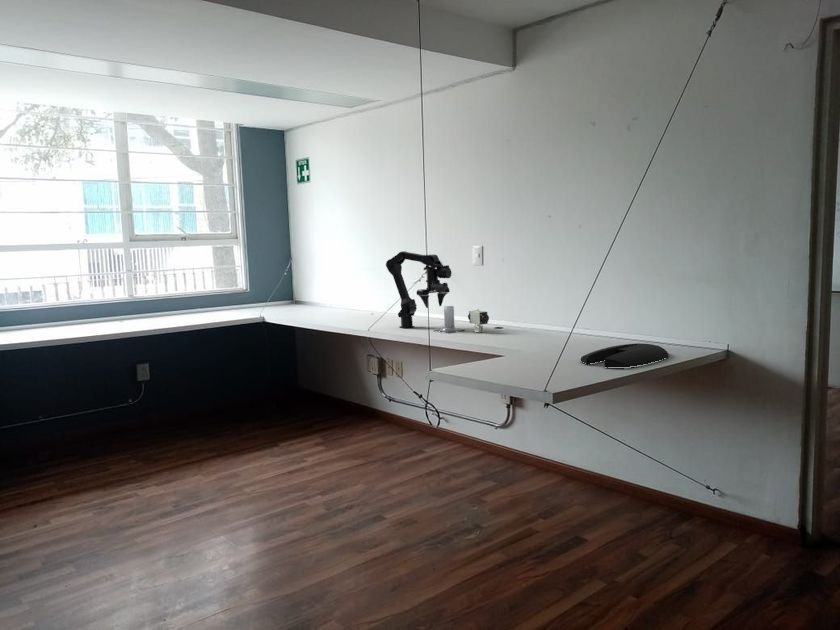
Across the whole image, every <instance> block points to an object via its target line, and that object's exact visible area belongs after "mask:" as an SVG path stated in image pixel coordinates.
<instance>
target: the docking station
mask: <svg viewBox="0 0 840 630" xmlns="http://www.w3.org/2000/svg"><path fill="white" fill-rule="evenodd" d="M668 355H670V354H669V352H668V351H667V350H666V349H665V348H663V347H662V346H660V345H657V344H656V345H655V344H653V343H642V342H641V343H640V342H639V343H638V342H637V343H628V344H627V343H626V344H619V345H613V346H609V347H608V346H607V347H605V348H601V349H598V350H594V351H592V352H589V353H586V354H584V355H582V356H581V357H580V360H581V361H582V362H584V363H586V364H590V363H595V362H600V361H604V360H605V362H604V368H605V367H630V366H637V365H643V364H648V363H651V362H655V361H659V360H662V359H664V358H667V357H668V358H669V356H668ZM668 358H667V359H668ZM582 362H581V363H582ZM584 363H583V364H584ZM586 364H585V365H586Z"/></svg>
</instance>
